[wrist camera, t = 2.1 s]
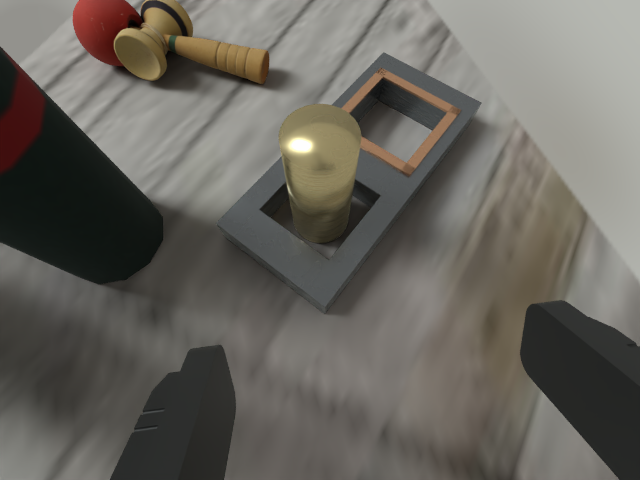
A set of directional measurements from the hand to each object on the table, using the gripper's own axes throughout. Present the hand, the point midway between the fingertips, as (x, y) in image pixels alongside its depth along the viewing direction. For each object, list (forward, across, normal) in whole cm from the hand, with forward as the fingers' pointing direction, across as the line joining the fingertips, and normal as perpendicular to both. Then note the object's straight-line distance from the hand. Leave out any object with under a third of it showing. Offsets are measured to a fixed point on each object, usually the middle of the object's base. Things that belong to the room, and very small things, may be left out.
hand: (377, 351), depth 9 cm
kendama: (+33, +12, -11) cm, 37 cm away
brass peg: (+19, 0, +3) cm, 19 cm away
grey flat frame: (+22, -3, 0) cm, 22 cm away
